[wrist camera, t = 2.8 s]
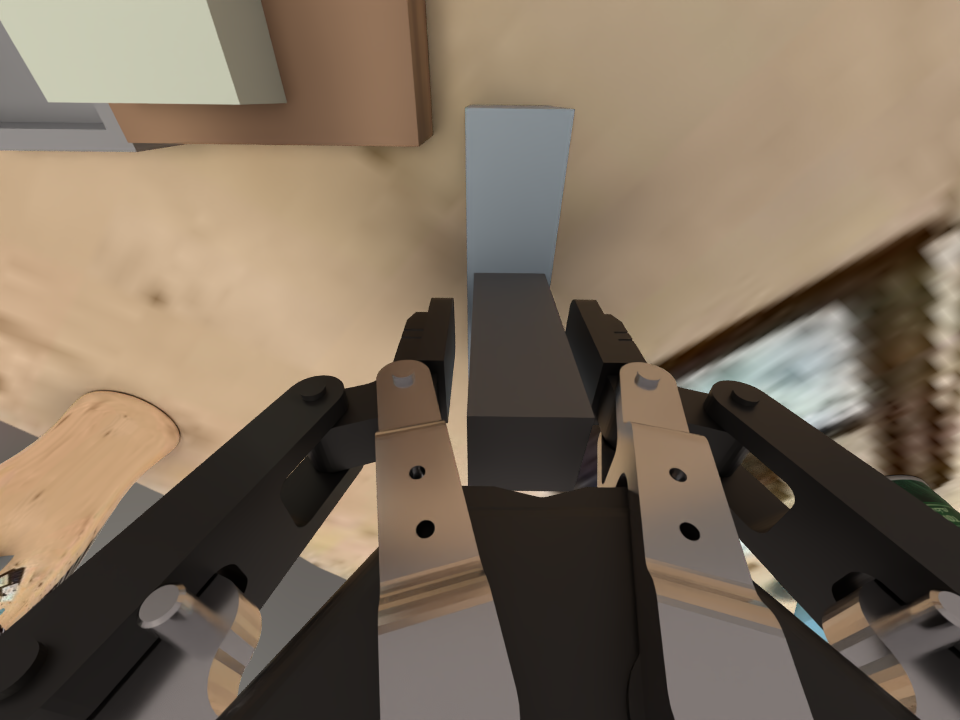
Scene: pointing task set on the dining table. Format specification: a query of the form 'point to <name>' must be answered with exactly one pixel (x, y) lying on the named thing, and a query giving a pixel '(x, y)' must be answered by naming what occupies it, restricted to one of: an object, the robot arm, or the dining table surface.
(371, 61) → the brown wooden block
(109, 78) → the tile
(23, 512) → the beer glass
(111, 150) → the box
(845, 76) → the dining table surface
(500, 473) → the scraper
